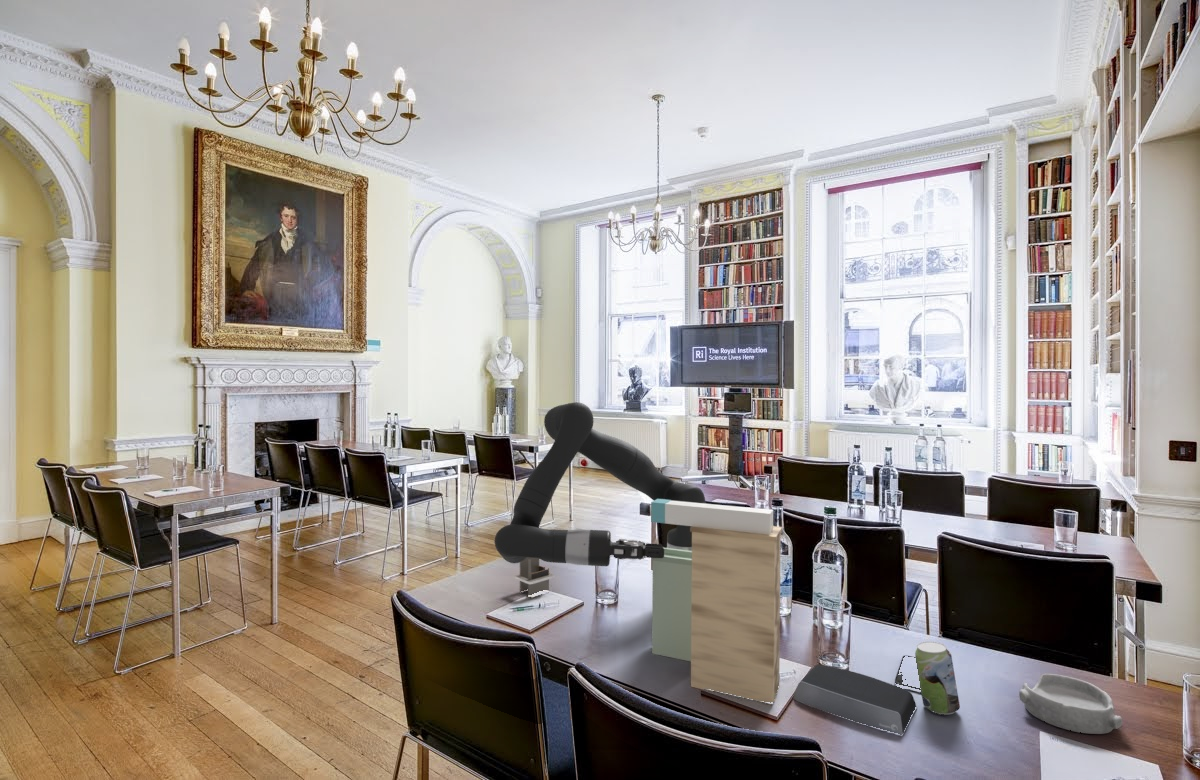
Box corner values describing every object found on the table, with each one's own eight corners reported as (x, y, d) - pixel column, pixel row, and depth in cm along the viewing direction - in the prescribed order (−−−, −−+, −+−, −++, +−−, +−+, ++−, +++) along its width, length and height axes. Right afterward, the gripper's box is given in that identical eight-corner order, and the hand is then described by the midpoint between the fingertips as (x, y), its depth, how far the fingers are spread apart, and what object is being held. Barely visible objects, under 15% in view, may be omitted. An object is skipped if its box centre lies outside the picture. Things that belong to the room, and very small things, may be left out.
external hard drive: (901, 741, 102) (901, 718, 102) (791, 703, 114) (791, 681, 114) (918, 709, 112) (918, 688, 112) (815, 677, 125) (815, 657, 125)
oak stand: (700, 668, 127) (701, 518, 127) (781, 685, 120) (782, 527, 120) (689, 687, 119) (690, 527, 119) (774, 706, 112) (775, 537, 112)
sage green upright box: (662, 641, 140) (662, 547, 140) (712, 651, 135) (713, 553, 135) (652, 653, 134) (652, 555, 134) (704, 664, 129) (705, 562, 129)
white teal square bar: (657, 517, 127) (657, 498, 127) (773, 529, 117) (773, 509, 117) (651, 521, 124) (651, 502, 124) (769, 534, 114) (770, 513, 113)
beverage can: (965, 721, 108) (965, 655, 107) (920, 716, 109) (921, 651, 109) (951, 702, 114) (952, 640, 114) (910, 698, 115) (910, 637, 115)
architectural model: (541, 580, 185) (541, 544, 184) (578, 594, 172) (578, 556, 172) (491, 594, 172) (491, 556, 171) (526, 611, 160) (526, 569, 159)
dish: (1016, 718, 109) (1016, 690, 109) (1026, 689, 119) (1026, 664, 119) (1121, 750, 99) (1121, 721, 99) (1122, 716, 110) (1122, 689, 110)
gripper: (586, 531, 123) (665, 535, 122) (591, 528, 137) (662, 531, 136) (584, 569, 121) (664, 573, 120) (589, 561, 135) (661, 565, 134)
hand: (663, 550), depth 128 cm, fingers open, 8 cm apart
